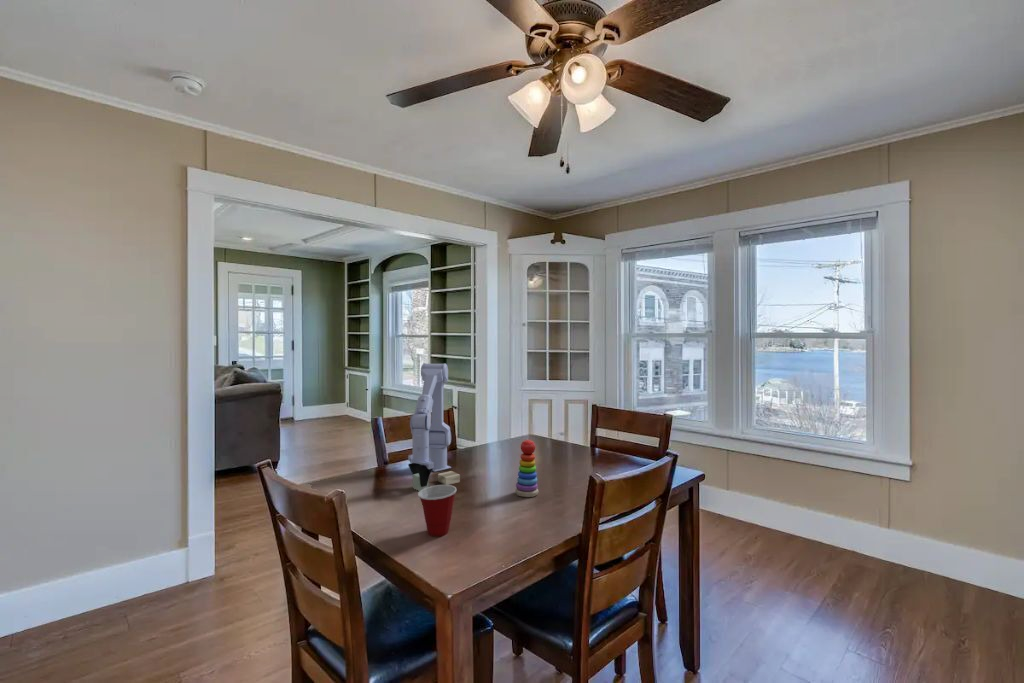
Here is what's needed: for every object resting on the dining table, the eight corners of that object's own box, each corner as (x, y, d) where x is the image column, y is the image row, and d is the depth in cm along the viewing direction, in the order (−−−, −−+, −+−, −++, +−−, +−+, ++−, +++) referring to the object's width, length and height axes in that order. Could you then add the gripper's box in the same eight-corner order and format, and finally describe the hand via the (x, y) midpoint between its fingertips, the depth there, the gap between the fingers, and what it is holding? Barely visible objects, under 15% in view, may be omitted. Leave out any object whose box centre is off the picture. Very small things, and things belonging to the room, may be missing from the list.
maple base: (437, 481, 174) (437, 473, 174) (451, 478, 178) (451, 470, 178) (446, 486, 170) (446, 477, 170) (459, 482, 173) (459, 474, 173)
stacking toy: (536, 498, 156) (536, 443, 156) (513, 497, 158) (513, 442, 157) (540, 491, 164) (540, 438, 163) (517, 489, 165) (517, 437, 165)
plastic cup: (420, 524, 135) (420, 483, 135) (457, 523, 135) (457, 483, 135) (414, 541, 124) (414, 497, 124) (455, 540, 125) (455, 496, 124)
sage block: (412, 488, 166) (412, 474, 166) (422, 485, 169) (422, 472, 169) (418, 491, 163) (418, 477, 163) (428, 488, 166) (428, 474, 166)
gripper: (400, 444, 168) (400, 481, 169) (421, 452, 158) (421, 492, 158) (417, 441, 173) (417, 477, 173) (438, 449, 162) (438, 487, 162)
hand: (420, 484), depth 166 cm, fingers closed on sage block, 4 cm apart
